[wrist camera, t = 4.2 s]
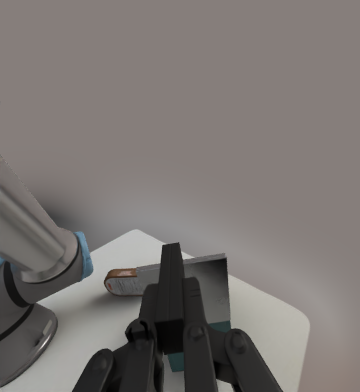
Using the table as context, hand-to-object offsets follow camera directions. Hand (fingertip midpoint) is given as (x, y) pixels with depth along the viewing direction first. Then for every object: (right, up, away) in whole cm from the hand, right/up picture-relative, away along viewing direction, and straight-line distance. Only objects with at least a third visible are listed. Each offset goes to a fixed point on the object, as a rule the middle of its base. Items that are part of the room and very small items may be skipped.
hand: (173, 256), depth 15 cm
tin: (-13, -23, +34) cm, 43 cm away
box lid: (+2, -9, +9) cm, 13 cm away
